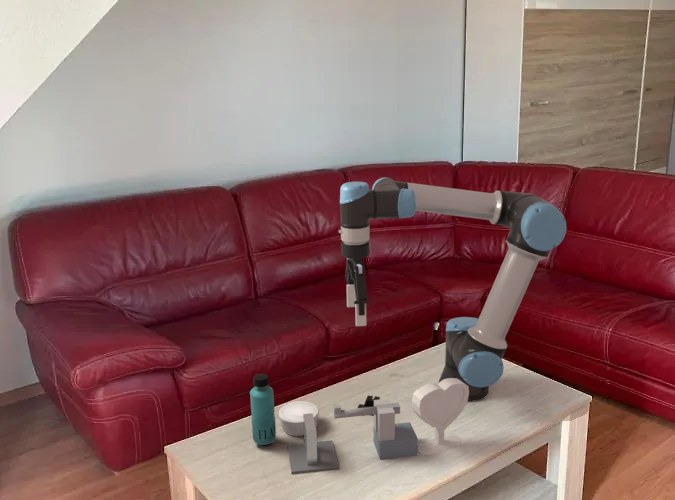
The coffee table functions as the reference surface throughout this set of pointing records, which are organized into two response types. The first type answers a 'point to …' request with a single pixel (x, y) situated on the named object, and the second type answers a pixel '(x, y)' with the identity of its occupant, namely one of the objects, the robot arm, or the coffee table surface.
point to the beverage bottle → (262, 410)
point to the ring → (310, 439)
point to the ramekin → (296, 416)
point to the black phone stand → (369, 402)
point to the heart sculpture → (440, 411)
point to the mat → (324, 458)
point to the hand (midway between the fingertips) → (356, 315)
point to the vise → (386, 429)
